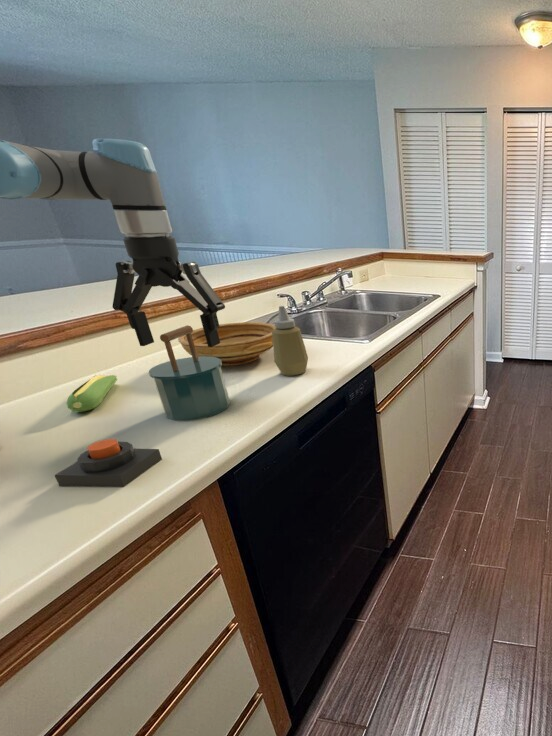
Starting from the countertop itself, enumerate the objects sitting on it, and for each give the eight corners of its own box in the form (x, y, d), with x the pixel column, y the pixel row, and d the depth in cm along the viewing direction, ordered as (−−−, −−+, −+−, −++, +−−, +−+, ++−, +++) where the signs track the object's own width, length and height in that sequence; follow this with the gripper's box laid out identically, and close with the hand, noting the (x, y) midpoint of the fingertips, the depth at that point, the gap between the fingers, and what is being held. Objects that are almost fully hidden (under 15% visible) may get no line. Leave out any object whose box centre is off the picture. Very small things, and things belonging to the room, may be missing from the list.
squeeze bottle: (316, 371, 115) (305, 305, 108) (288, 380, 108) (275, 311, 101) (299, 365, 119) (287, 301, 112) (270, 373, 112) (256, 306, 105)
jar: (152, 420, 87) (137, 378, 83) (190, 398, 97) (179, 359, 94) (208, 421, 87) (196, 379, 83) (240, 398, 97) (231, 360, 94)
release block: (59, 486, 66) (49, 465, 65) (104, 459, 74) (96, 439, 72) (124, 487, 66) (115, 466, 65) (162, 459, 74) (155, 439, 72)
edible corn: (64, 419, 87) (56, 398, 85) (99, 384, 103) (92, 367, 101) (97, 414, 89) (89, 394, 87) (126, 381, 105) (119, 364, 103)
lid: (134, 381, 83) (118, 337, 79) (179, 361, 94) (167, 321, 91) (197, 382, 83) (185, 338, 80) (235, 362, 94) (225, 322, 91)
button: (84, 459, 67) (80, 450, 66) (104, 447, 70) (100, 438, 69) (107, 459, 67) (103, 450, 66) (126, 448, 70) (123, 438, 70)
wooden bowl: (307, 356, 126) (303, 330, 123) (224, 382, 106) (216, 352, 103) (247, 341, 139) (241, 317, 135) (162, 361, 119) (153, 334, 116)
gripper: (228, 235, 82) (252, 340, 90) (98, 233, 82) (134, 338, 90) (202, 237, 75) (231, 350, 83) (60, 235, 75) (103, 349, 83)
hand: (181, 344), depth 86 cm, fingers open, 13 cm apart
